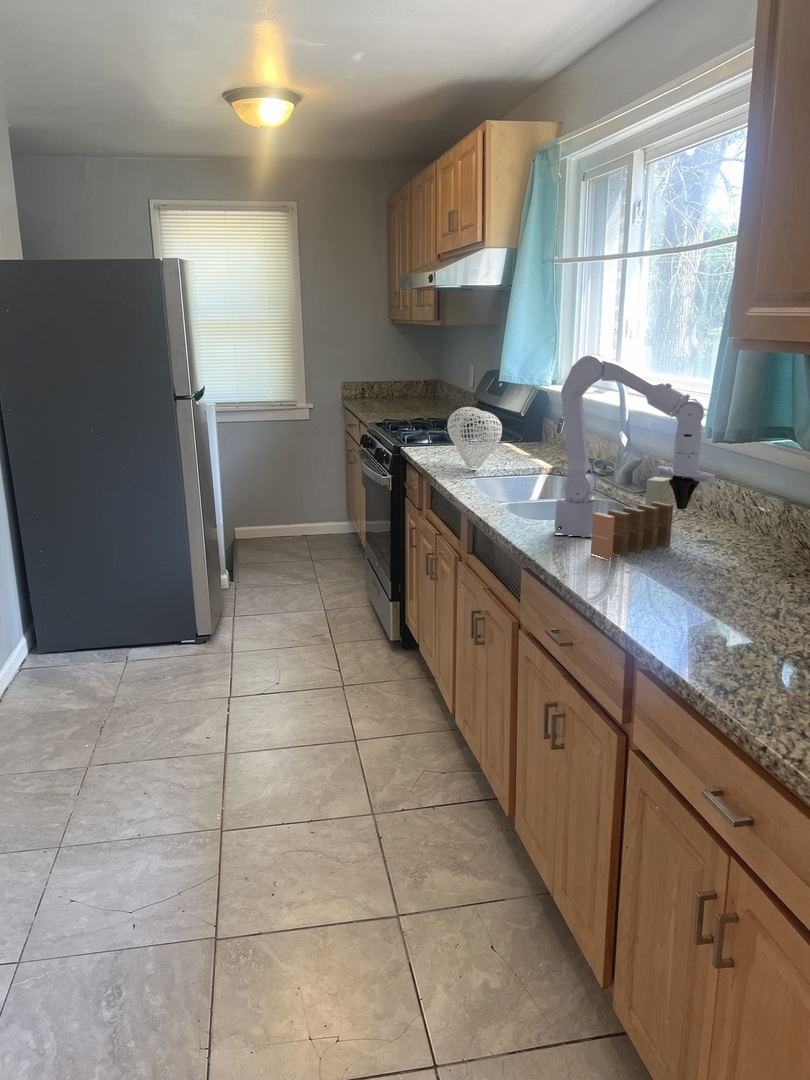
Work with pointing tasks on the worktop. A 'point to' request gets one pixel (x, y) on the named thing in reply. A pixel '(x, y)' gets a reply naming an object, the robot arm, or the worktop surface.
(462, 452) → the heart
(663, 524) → the walnut tile
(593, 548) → the terracotta tile
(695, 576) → the worktop surface
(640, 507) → the walnut tile
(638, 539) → the walnut tile
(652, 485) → the skincare box
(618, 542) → the walnut tile
